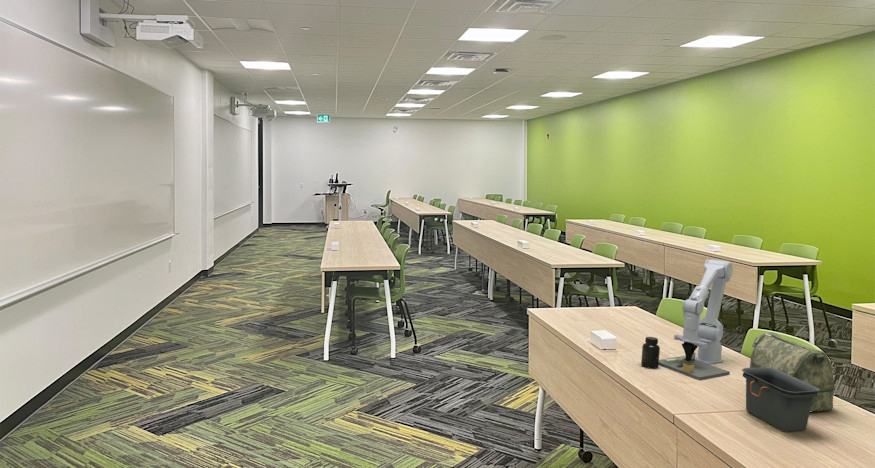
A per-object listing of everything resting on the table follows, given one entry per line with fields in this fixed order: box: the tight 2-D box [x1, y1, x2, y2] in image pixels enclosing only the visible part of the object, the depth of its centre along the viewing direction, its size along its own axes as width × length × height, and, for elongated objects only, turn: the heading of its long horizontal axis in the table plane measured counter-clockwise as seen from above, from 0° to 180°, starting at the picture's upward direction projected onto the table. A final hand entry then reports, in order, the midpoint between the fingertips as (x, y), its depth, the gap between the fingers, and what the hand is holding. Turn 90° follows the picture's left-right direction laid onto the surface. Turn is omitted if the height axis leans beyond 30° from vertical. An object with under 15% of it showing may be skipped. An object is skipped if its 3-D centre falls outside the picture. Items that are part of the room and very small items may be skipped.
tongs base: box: [659, 352, 731, 381], centre depth 235 cm, size 18×22×5 cm
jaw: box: [675, 354, 694, 364], centre depth 237 cm, size 13×2×2 cm, turn 133°
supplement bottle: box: [640, 336, 661, 369], centre depth 236 cm, size 7×7×12 cm
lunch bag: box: [749, 332, 836, 412], centre depth 203 cm, size 26×18×22 cm
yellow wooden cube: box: [682, 363, 694, 373], centre depth 227 cm, size 3×3×3 cm
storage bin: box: [741, 367, 820, 433], centre depth 184 cm, size 21×16×14 cm
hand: (688, 360), depth 236 cm, fingers closed, pressing on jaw
